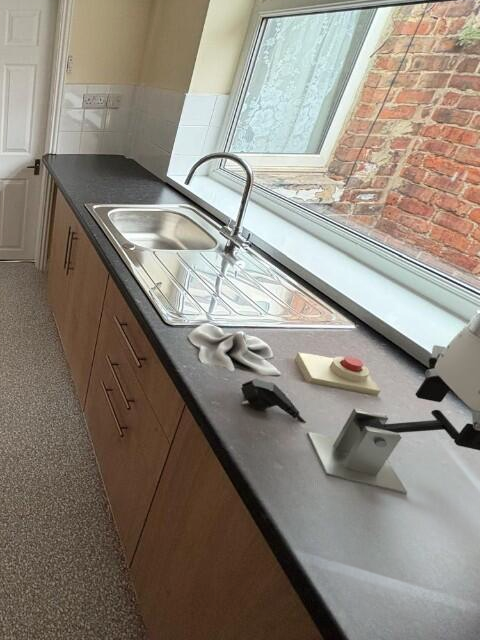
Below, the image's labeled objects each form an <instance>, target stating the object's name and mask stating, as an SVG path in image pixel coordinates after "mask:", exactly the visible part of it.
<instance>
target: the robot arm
mask: <svg viewBox="0 0 480 640" xmlns="http://www.w3.org/2000/svg"><path fill="white" fill-rule="evenodd" d="M431 350H432V351H431V357H430V358H429V359H428V366H429V367H428V368H429V369H426V371H425V376H426V377H425V379H424V380H423V382H422V383H421V385H420V386H419V388H418V389H417V391H416V392H415V396H416V398H417V399H421V400H424V401H425V400H426V401H431V402H436V403H441V402H443V400H444V399H445V398H446V396H447V395H448V393H449V392H450V390H452V391H453V393H454V394H455V395H456V396H457V397H458V398H459V399H460V400H461V401H462V402H463V403H464V404H465V405H467V407H469V408H470V409H471V411H472V412H471V415H472V419H471V420H472V423H470V422H469V423H468V422H467V423H466V424H465V425H464V426H463V428H462V429H461V430H460V431H459V434H458V436H457V437H456V438H455V439H453V443H454V444H455V445H456V446H458V447H462V448H467V449H472V450H476V451H480V307H479V308H478V310H477V311H476V312H475V314H474V315H473V316H472V318H471V320H470V322H468V324H467V325H465V326H464V327H462V329H461V330H460V331H459V332H458V333H457V334H456V335H455V336H454V337H453V339H452V340H451V341H449V342H448V344H447V346H443V345H437V344H435V345H433V346H432V349H431Z"/></svg>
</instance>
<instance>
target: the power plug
mask: <svg viewBox="0 0 480 640" xmlns="http://www.w3.org/2000/svg"><path fill="white" fill-rule="evenodd" d="M240 388H241V393H242V396H243V397H244V399H245V400H244V401H241V404H242V405H244V406H248V405H250V406H251V407H252V408H254V409H255V410H256V411H259V412H261V411H264V410H267V409H269V408H272V407H275V406H277V407H279V408H280V409H281V410H282V411H284V412H285V413H286V414H287V415H289V416H291V417H292V418H293V419H297V420H298V421H299V422H301V423H304V424H306V423H307V420H305V419H303V417H302V416H301V415H300V411H299V410H298V408H297V407H296V406H295V405H294V404H293V402H292V401H291V400H290V399H289V397H288V396H287V395H286V394H285V393H284V391H283V390H281V389H280V388H279V386H277V384H275V383H274V382H272V381H270V382H268V381H264V380H262V379H258V378H254V379H251V380H248V381H246V382H244V383H242V384H241V387H240Z"/></svg>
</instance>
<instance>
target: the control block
mask: <svg viewBox="0 0 480 640" xmlns="http://www.w3.org/2000/svg"><path fill="white" fill-rule="evenodd" d="M344 357H345V356H342V355H341V356H334V357H328V356H322V355H317V354H312V353H305V352H301V351H298V352H297V354H296V356H295V358H294V360H295V362H296V363H297V366H298V368H299V370H300V372H301V373H302V375H303V377H304V379H305V381H306V383H307V384H311V385H316V386H320V387H321V386H322V387H326V388H330V389H331V388H332V389H337V390H343V391H347V392H353V393H357V394H362V395H368V396H373V397H379V394H380V393H381V390H380V388H379V387H378V385H377V383H375V381H374V379H373V378H372V377H371V376H370V373H371V370H369V368H368V366H366V365H365V364H363V366H362V368H361V370H360V371H359V372H354V371H350V370H348V369H346V368H344V367H343V366H342V365H341V363H342V361H343V359H344Z"/></svg>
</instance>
